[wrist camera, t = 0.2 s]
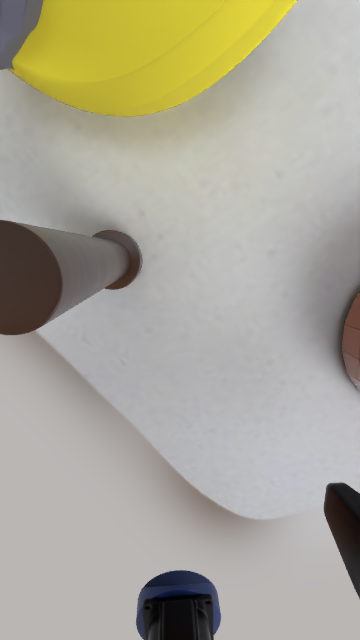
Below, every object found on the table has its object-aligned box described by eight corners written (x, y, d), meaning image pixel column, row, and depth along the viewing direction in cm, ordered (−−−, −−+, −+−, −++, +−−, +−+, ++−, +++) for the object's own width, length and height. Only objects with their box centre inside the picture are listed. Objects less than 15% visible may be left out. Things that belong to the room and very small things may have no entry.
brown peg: (144, 285, 20) (99, 357, 6) (91, 287, 20) (-67, 366, 6) (140, 230, 19) (80, 184, 6) (85, 232, 19) (-111, 189, 6)
